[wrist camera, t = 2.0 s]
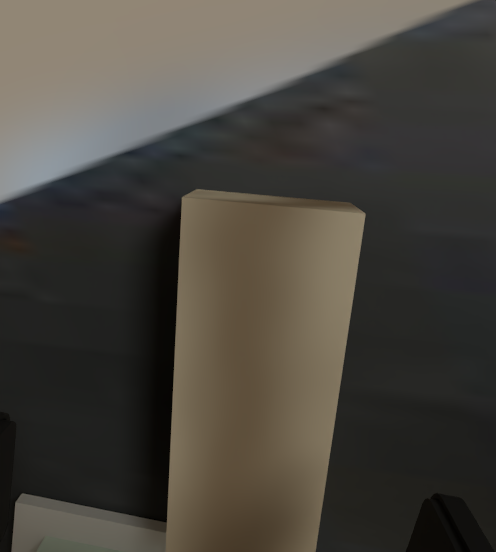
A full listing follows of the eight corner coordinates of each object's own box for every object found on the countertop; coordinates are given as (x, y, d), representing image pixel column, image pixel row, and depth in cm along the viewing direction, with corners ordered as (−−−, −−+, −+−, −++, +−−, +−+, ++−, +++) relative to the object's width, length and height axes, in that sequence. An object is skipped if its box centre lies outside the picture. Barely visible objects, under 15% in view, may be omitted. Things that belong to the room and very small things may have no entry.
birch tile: (348, 201, 16) (365, 213, 13) (306, 504, 19) (312, 569, 16) (198, 188, 16) (182, 197, 13) (181, 491, 19) (165, 552, 16)
